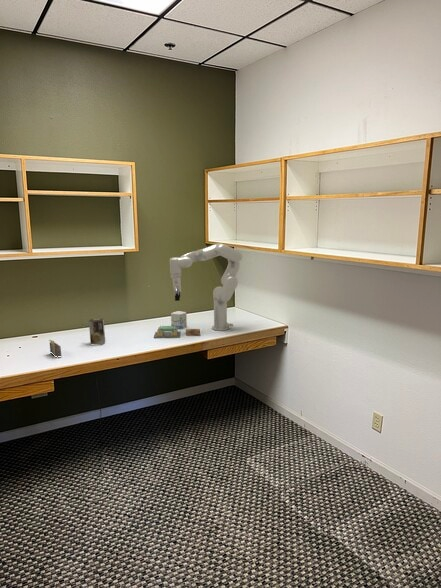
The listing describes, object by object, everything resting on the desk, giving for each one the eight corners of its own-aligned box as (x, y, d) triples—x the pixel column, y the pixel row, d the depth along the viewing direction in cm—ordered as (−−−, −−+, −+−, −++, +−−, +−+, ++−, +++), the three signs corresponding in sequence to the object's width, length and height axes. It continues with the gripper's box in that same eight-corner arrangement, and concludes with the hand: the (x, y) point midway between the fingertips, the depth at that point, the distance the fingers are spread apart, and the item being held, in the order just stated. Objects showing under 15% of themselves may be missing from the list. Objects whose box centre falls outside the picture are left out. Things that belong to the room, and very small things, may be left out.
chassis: (180, 332, 305) (180, 324, 304) (179, 337, 294) (179, 328, 292) (155, 333, 305) (155, 324, 303) (153, 338, 293) (153, 329, 292)
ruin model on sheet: (49, 354, 263) (48, 339, 261) (54, 353, 265) (53, 338, 263) (56, 359, 254) (55, 344, 252) (61, 358, 256) (60, 342, 254)
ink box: (179, 329, 313) (179, 314, 311) (171, 327, 318) (170, 312, 316) (187, 327, 320) (186, 312, 317) (178, 325, 325) (178, 310, 322)
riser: (200, 334, 302) (200, 328, 301) (200, 335, 298) (200, 330, 297) (186, 334, 302) (186, 328, 301) (185, 336, 298) (185, 330, 297)
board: (176, 328, 302) (176, 325, 302) (175, 331, 295) (175, 328, 295) (159, 328, 302) (159, 326, 301) (158, 331, 295) (158, 328, 294)
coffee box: (105, 341, 287) (104, 318, 283) (104, 344, 280) (103, 320, 277) (91, 342, 285) (89, 319, 282) (90, 345, 279) (88, 321, 276)
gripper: (180, 277, 288) (182, 301, 292) (181, 272, 305) (183, 296, 308) (169, 277, 288) (171, 302, 291) (171, 273, 304) (173, 296, 308)
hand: (177, 299), depth 300 cm, fingers open, 9 cm apart
